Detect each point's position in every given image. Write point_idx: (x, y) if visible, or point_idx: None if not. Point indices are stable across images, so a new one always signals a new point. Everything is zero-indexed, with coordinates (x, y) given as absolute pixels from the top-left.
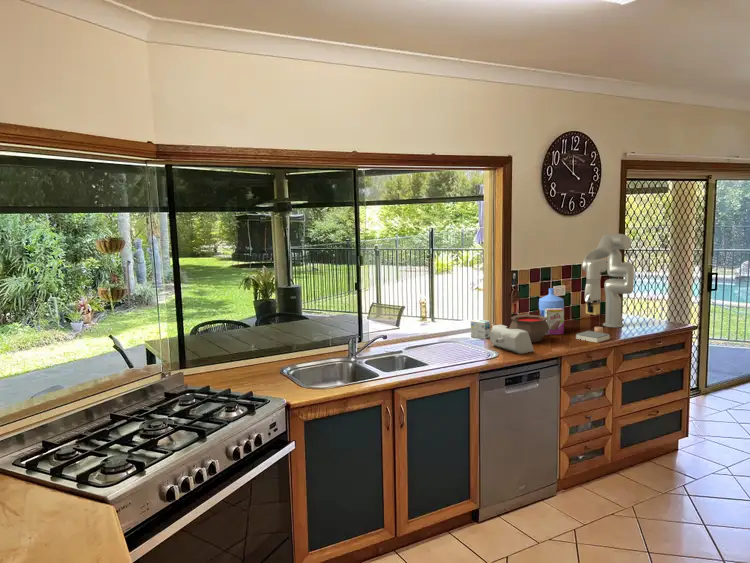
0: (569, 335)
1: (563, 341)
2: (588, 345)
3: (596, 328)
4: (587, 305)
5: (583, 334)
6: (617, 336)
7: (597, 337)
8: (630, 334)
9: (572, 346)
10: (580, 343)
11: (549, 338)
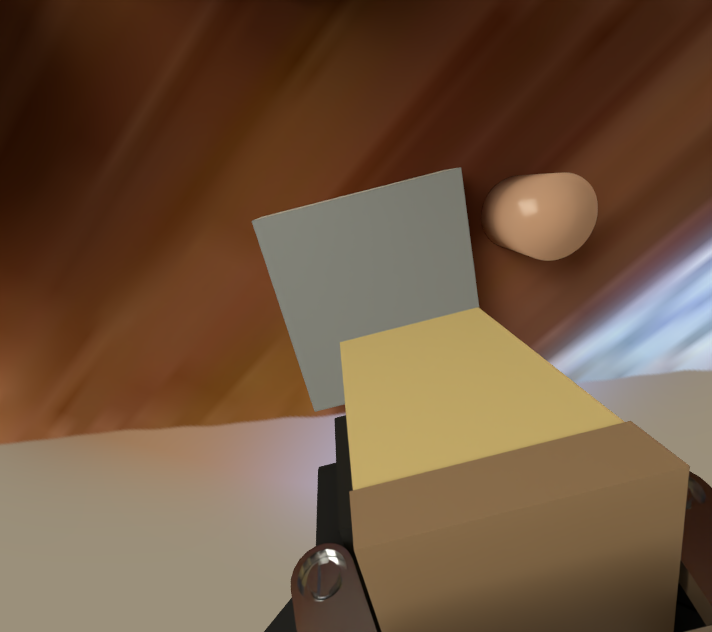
0: (297, 65)
1: (101, 240)
2: (210, 421)
3: (513, 229)
4: (303, 564)
5: (299, 274)
6: (585, 317)
7: (322, 408)
8: (707, 314)
9: (84, 396)
10: (193, 356)
11: (26, 60)
